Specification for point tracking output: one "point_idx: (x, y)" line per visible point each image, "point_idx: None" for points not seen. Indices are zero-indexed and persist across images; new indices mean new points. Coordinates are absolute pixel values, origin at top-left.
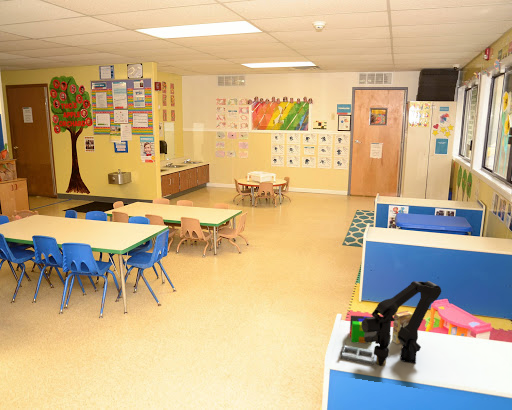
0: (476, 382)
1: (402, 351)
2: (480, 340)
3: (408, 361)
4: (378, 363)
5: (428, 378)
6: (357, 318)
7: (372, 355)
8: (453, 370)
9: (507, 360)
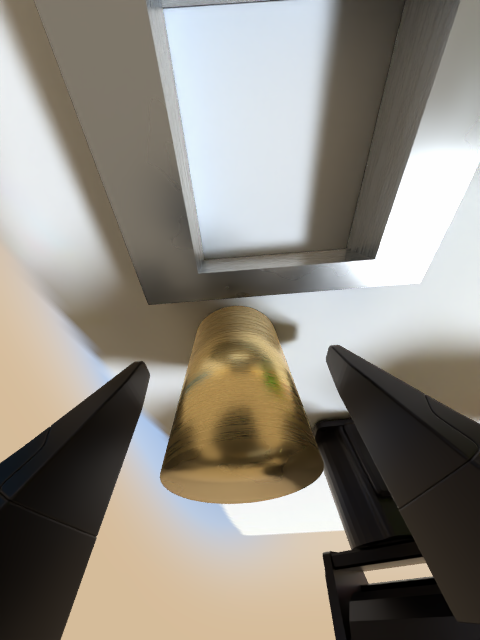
0: (256, 521)
1: (365, 484)
2: None
3: None
4: (195, 338)
5: None
6: None
7: (295, 274)
8: (297, 502)
9: None
